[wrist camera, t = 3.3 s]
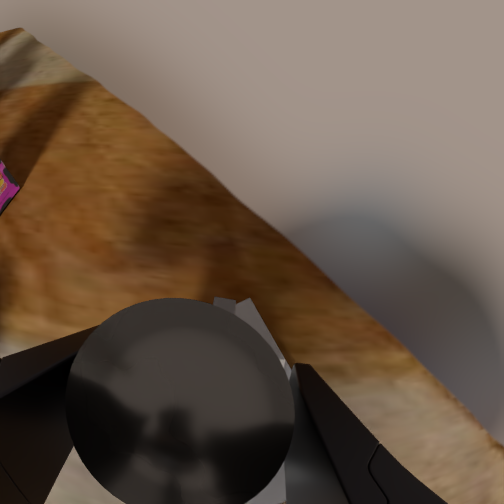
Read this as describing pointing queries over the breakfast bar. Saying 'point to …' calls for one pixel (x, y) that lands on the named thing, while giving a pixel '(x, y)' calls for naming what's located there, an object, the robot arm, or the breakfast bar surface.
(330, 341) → the breakfast bar surface
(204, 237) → the breakfast bar surface
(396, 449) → the breakfast bar surface
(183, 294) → the breakfast bar surface
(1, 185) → the candy bar box
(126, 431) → the plunger
